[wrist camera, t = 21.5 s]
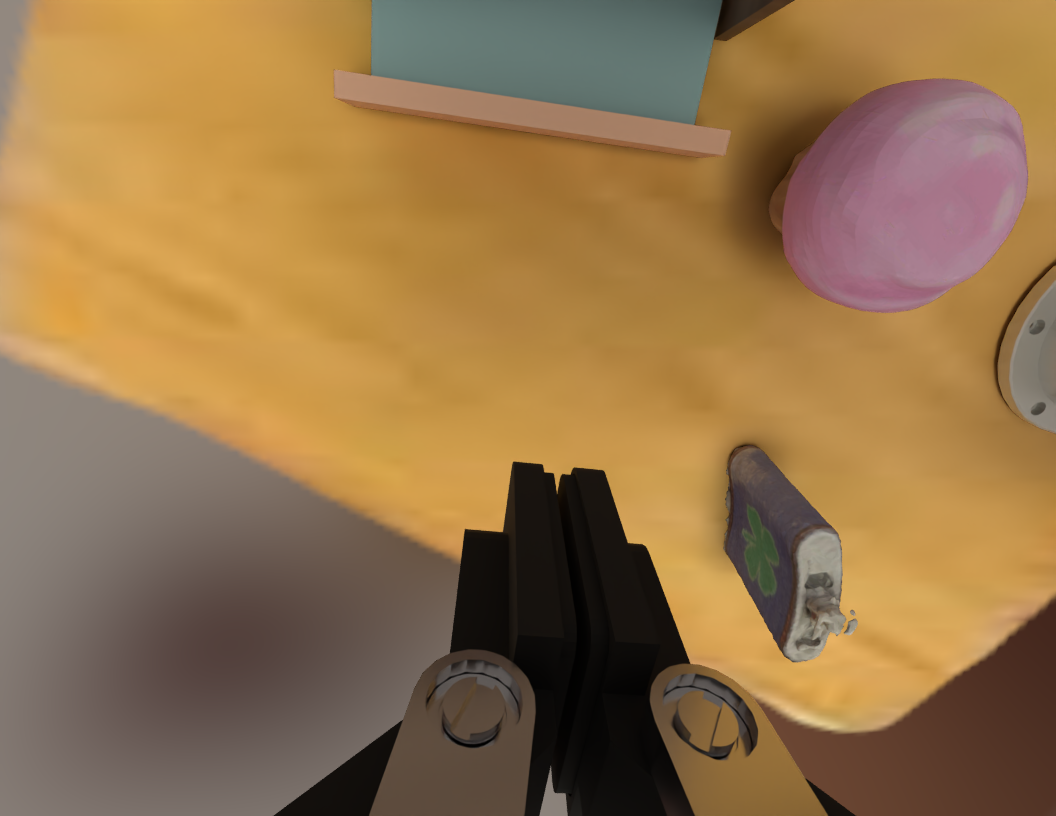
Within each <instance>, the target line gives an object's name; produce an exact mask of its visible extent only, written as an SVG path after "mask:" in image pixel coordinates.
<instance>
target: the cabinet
mask: <svg viewBox="0 0 1056 816" xmlns="http://www.w3.org/2000/svg"><path fill="white" fill-rule="evenodd" d="M793 1H794V0H723V1H722V6H721V10H720V14H719V19H718V23H717V28H716V32H715V37H714V39H717V40H723V41H727V40H729V39H731V38H732V37H734V36H736V35H737V34H739V33H741V32H742V31H744V30H746V29H747V28H749V27H751V26H752V25H754V24H756V23H757V22H759V21H761V20H762V19H764V18H766V17H767V16H769V15H771V14H773V13H774V12H776V11H778V10H779V9H781V8H783V7H784V6H786V5H788V4H789V3H791V2H793Z"/></svg>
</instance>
